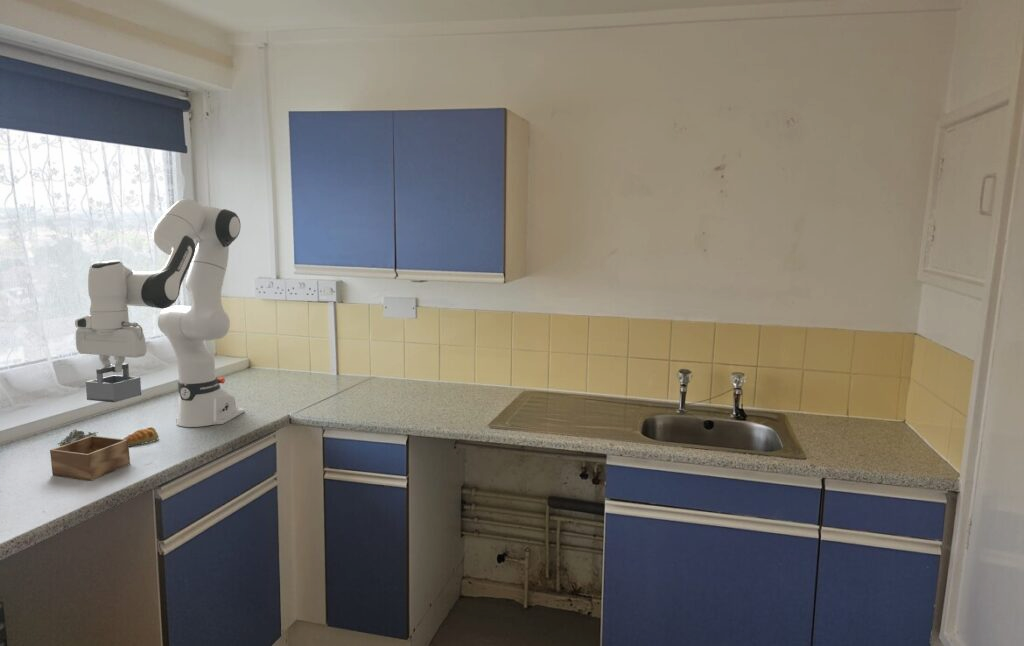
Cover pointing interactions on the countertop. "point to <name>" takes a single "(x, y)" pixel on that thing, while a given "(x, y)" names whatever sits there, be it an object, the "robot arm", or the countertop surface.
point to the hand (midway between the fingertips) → (113, 371)
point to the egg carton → (75, 437)
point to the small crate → (113, 386)
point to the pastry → (142, 436)
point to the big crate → (90, 457)
